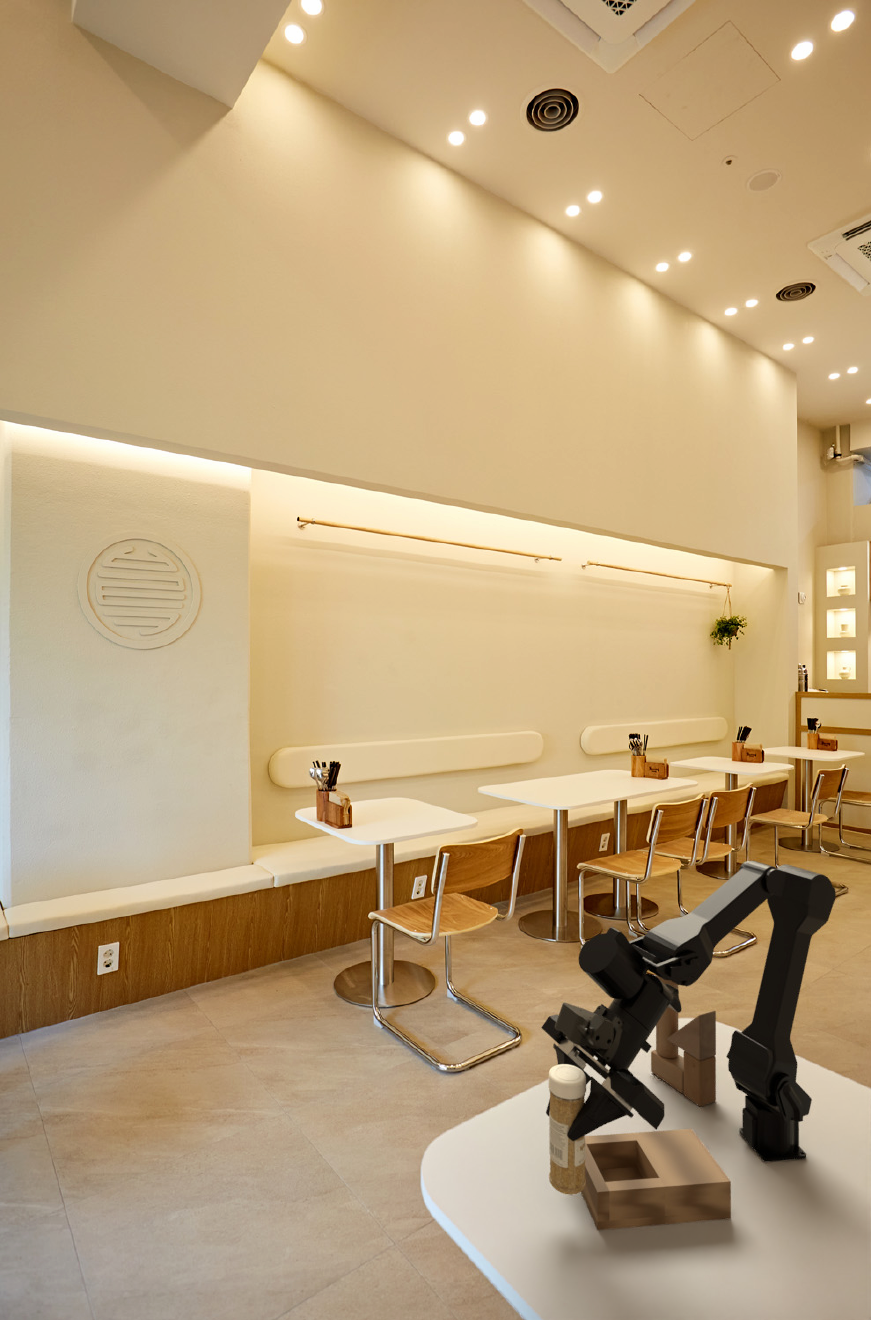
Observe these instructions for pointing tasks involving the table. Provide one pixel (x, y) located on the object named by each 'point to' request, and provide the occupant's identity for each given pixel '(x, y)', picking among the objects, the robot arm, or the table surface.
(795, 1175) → the table surface
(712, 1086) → the wooden block
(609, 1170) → the wooden bottle holder
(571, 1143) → the sprinkles bottle
